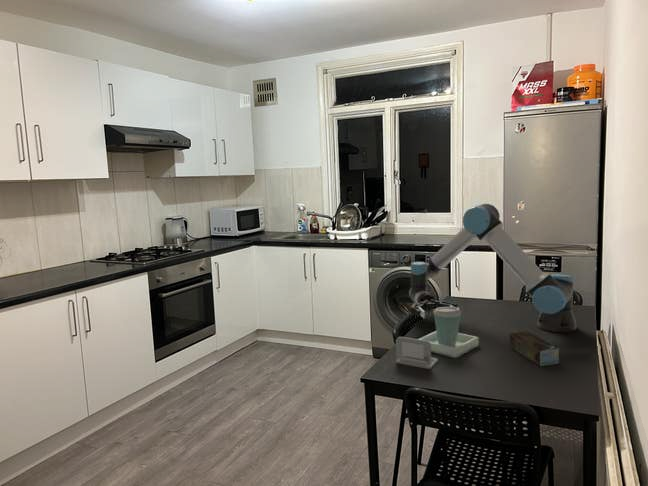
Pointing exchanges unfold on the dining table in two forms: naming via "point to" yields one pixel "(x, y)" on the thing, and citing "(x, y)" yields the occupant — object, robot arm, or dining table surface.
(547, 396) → the dining table surface
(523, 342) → the beverage carton
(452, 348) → the sage tray
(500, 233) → the robot arm
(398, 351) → the handheld gaming console
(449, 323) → the disposable coffee cup
